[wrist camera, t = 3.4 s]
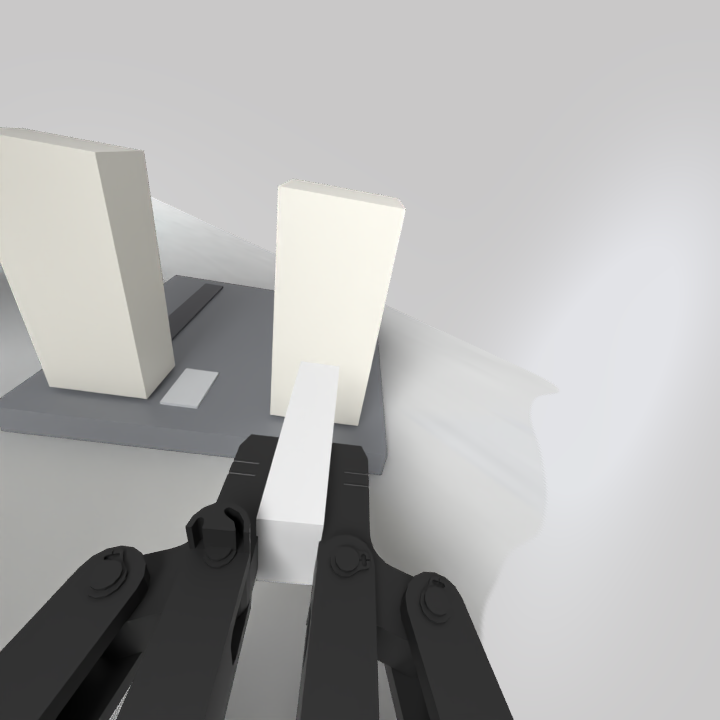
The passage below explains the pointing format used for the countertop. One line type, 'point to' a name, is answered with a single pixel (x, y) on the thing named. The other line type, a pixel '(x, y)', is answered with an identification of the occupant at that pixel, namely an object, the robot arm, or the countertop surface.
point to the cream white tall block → (330, 286)
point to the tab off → (84, 261)
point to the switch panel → (194, 385)
